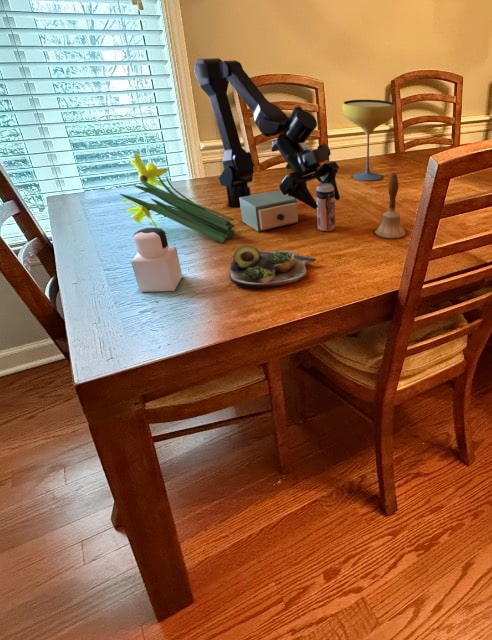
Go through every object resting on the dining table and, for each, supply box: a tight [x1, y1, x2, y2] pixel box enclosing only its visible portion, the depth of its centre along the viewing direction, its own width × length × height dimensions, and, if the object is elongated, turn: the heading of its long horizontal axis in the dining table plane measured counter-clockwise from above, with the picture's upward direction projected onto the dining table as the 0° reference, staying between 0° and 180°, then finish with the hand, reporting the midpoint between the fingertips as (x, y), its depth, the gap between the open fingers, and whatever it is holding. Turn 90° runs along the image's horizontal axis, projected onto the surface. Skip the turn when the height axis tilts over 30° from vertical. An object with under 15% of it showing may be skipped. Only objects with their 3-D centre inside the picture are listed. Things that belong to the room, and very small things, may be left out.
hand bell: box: [374, 172, 406, 240], centre depth 122 cm, size 8×8×16 cm
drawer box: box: [239, 189, 299, 233], centre depth 130 cm, size 10×12×7 cm
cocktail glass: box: [342, 99, 396, 182], centre depth 166 cm, size 18×18×25 cm
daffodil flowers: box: [117, 150, 236, 244], centre depth 122 cm, size 17×15×35 cm
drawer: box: [258, 202, 299, 230], centre depth 129 cm, size 10×11×5 cm
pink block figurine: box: [130, 227, 183, 293], centre depth 96 cm, size 7×7×12 cm
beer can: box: [315, 182, 336, 232], centre depth 125 cm, size 5×5×12 cm
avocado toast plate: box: [229, 245, 317, 289], centre depth 105 cm, size 19×18×5 cm
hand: (328, 203), depth 124 cm, fingers open, 9 cm apart
